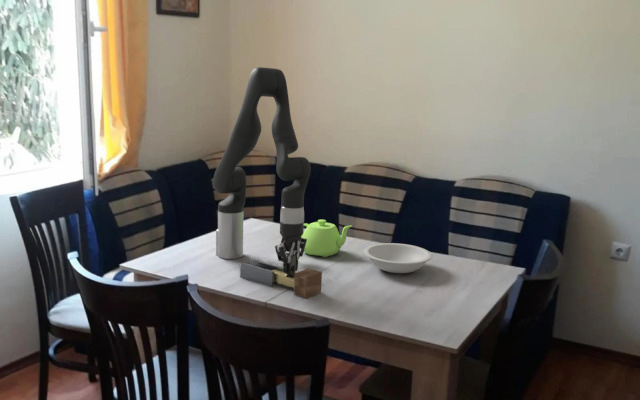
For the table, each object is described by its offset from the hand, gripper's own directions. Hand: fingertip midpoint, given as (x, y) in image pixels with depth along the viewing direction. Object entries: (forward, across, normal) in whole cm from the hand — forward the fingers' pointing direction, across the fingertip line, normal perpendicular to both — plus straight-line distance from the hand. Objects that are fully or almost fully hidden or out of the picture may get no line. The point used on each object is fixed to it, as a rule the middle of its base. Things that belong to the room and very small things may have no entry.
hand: (290, 271), depth 206 cm
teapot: (+6, -38, -14) cm, 41 cm away
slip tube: (+4, 0, 0) cm, 4 cm away
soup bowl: (+6, -40, +17) cm, 44 cm away
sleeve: (+6, 0, -12) cm, 13 cm away
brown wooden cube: (+6, 0, +7) cm, 9 cm away
